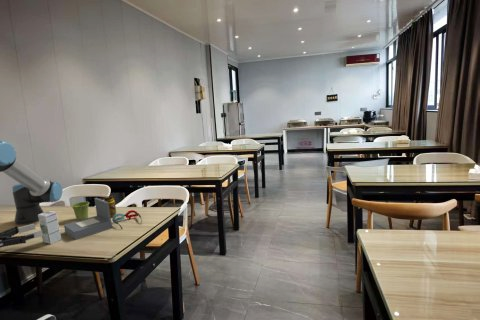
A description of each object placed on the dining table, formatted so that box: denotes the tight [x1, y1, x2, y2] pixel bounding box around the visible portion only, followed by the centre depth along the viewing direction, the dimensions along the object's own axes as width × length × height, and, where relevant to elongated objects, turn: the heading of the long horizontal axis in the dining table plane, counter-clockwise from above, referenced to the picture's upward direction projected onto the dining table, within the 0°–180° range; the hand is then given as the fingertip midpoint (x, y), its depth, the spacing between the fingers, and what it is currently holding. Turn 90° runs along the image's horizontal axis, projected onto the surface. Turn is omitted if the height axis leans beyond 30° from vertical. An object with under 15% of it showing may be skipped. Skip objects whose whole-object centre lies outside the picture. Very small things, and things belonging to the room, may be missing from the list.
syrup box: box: [38, 210, 62, 245], centre depth 149 cm, size 6×6×14 cm
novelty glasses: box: [111, 209, 143, 230], centre depth 168 cm, size 14×15×5 cm
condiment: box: [103, 195, 119, 219], centre depth 180 cm, size 7×8×12 cm
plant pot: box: [71, 201, 90, 221], centre depth 181 cm, size 9×9×9 cm
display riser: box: [63, 197, 113, 240], centre depth 161 cm, size 16×18×14 cm
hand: (38, 229), depth 145 cm, fingers open, 13 cm apart
